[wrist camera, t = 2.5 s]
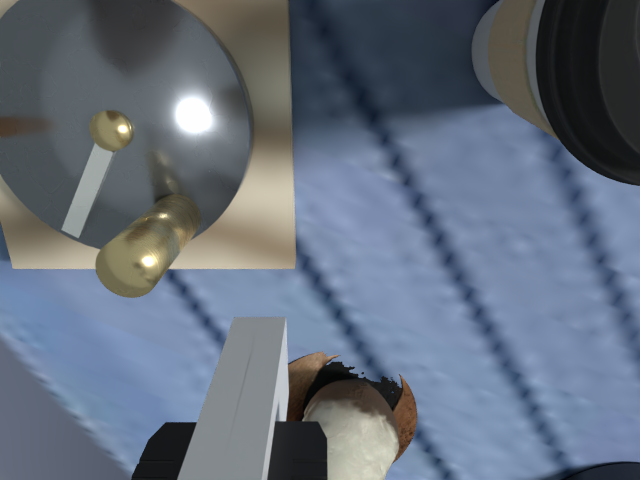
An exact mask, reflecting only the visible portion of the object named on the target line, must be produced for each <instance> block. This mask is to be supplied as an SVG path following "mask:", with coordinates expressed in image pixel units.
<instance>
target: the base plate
mask: <svg viewBox="0 0 640 480" xmlns="http://www.w3.org/2000/svg"><path fill="white" fill-rule="evenodd" d="M17 1H18V0H0V19H1V17H2V16H3V15H4V14H5V12H6V11H7V10H8V9H9V8H11V7H12V6H13V5H14V4H15V3H16V2H17ZM174 1H176V2H178V3H180V4H181V5H183V6H184V7H185V8H187V9H188V10H190V11H191V12H193V13H194V14H195V15H197V16H198V17H199V18H200V19H201V20H202V21H203V22H205V23H206V24H207V25H208V26H209V27H210V28H211V29H212V30H213V31H214V33H215V34H216V35H217V36H218V37H219V38H220V39H221V41H222V42H223V43H224V45H225V46H226V48H227V49H228V50H229V52H230V53H231V55H232V56H233V58H234V60H235V62H236V64H237V65H238V67H239V69H240V71H241V73H242V76H243V78H244V81H245V83H246V86H247V89H248V92H249V96H250V100H251V104H252V109H253V117H254V146H253V153H252V158H251V162H250V166H249V169H248V172H247V175H246V177H245V179H244V182H243V184H242V186H241V188H240V189H239V191H238V192H237V194H236V196H235V197H234V199H233V200H232V202H231V203H230V205H229V206H228V208H227V209H226V210H225V211H224V213H223V214H222V215H221V216H220V217H219V219H218V220H217V221H216V222H215V223H214V224H212V225H211V226H210V227H209V228H208V229H207V230H206V231H204V232H203V233H201V234H200V235H198V236H197V237H195V238H194V239H192V240H190V241H189V242H188V243H187V245H186V246H185V247H184V249H183V250H182V251H181V253H180V254H179V255H178V257H177V258H176V259H175V260H174V262H173V263H172V264H171V266H170V267H169V268H168V269H295V263H296V237H295V200H294V162H293V125H292V87H291V49H290V12H289V0H174ZM0 222H1V226H2V229H3V233H4V237H5V241H6V244H7V248H8V252H9V255H10V259H11V263H12V267H13V269H96V268H95V262H96V257H97V255H98V253H99V251H100V249H97V248H94V247H90V246H87V245H84V244H82V243H80V242H77V241H75V240H73V239H70V238H68V237H67V236H65V235H63V234H61V233H59V232H58V231H56V230H54V229H53V228H51V227H50V226H49V225H47V224H46V223H44V222H43V221H41V220H40V219H39V218H38V217H37V216H36V215H34V214H33V213H32V212H31V211H30V210H29V209H28V208H27V207H26V206H25V205H24V204H23V203H22V202H21V201H20V200H19V199H18V198H17V197H16V196H15V194H14V193H13V192H12V191H11V189H10V188H9V187H8V185H7V184H6V183H5V181H4V180H3V178H2V176H1V175H0Z"/></svg>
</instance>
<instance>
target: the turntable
mask: <svg viewBox="0 0 640 480" xmlns="http://www.w3.org/2000/svg"><path fill="white" fill-rule="evenodd" d="M253 146H254V117H253V109H252V104H251V100H250V96H249V92H248V89H247V86H246V83H245V81H244V78H243V76H242V73H241V71H240V69H239V67H238V65H237V64H236V62H235V60H234V58H233V56H232V55H231V53H230V52H229V50H228V49H227V48H226V46H225V45H224V43H223V42H222V41H221V39H220V38H219V37H218V36H217V35H216V34H215V33H214V31H213V30H212V29H211V28H210V27H209V26H208V25H207V24H206V23H205V22H203V21H202V20H201V19H200V18H199V17H198V16H197V15H195V14H194V13H193V12H191V11H190V10H188V9H187V8H185V7H184V6H183V5H181V4H180V3H178V2H176V1H174V0H18V1H17V2H16V3H15V4H14V5H13V6H12V7H11V8H9V9H8V10H7V11H6V12H5V14H4V15H3V16H2V17H1V19H0V175H1V176H2V178H3V180H4V181H5V183H6V184H7V185H8V187H9V188H10V189H11V191H12V192H13V193H14V194H15V196H16V197H17V198H18V199H19V200H20V201H21V202H22V203H23V204H24V205H25V206H26V207H27V208H28V209H29V210H30V211H31V212H32V213H33V214H34V215H36V216H37V217H38V218H39V219H40V220H41V221H43V222H44V223H46V224H47V225H49V226H50V227H51V228H53V229H54V230H56V231H58V232H59V233H61V234H63V235H65V236H67V237H68V238H70V239H73V240H75V241H77V242H80V243H82V244H84V245H87V246H90V247H94V248H97V249H100V251H99V253H98V255H97V257H96V262H95V268H96V273H97V275H98V278H99V279H100V281H101V282H102V284H103V285H104V286H105V287H106V288H107V289H108V290H110V291H111V292H113V293H115V294H117V295H119V296H123V297H129V298H135V297H140V296H143V295H145V294H147V293H149V292H150V291H151V290H152V289H153V288H154V287H155V285H156V284H157V283H158V281H159V280H160V279H161V278H162V276H163V275H164V274H165V272H166V271H167V270H168V268H169V267H170V266H171V264H172V263H173V262H174V260H175V259H176V258H177V257H178V255H179V254H180V253H181V251H182V250H183V249H184V247H185V246H186V245H187V243H188V242H189V241H190V240H192V239H194V238H195V237H197V236H198V235H200V234H201V233H203V232H204V231H206V230H207V229H208V228H209V227H210V226H211V225H212V224H214V223H215V222H216V221H217V220H218V219H219V217H220V216H221V215H222V214H223V213H224V211H225V210H226V209H227V208H228V206H229V205H230V203H231V202H232V200H233V199H234V197H235V196H236V194H237V192H238V191H239V189H240V188H241V186H242V184H243V182H244V179H245V177H246V175H247V172H248V169H249V166H250V162H251V158H252V153H253Z"/></svg>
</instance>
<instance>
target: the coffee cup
mask: <svg viewBox="0 0 640 480" xmlns="http://www.w3.org/2000/svg"><path fill="white" fill-rule="evenodd" d="M471 51H472V63H473V68H474V71H475V74H476V76H477V79H478V80H479V82H480V84H481V85H482V87H483V88H484V89H485V90H486V91H487V92H488V93H489V94H490V95H491V96H493V97H494V98H496V99H498V100H499V101H501V102H503V103H504V104H506V105H507V106H508V107H509V108H510V109H511V110H512V111H513V113H515V114H517V115H518V116H520V117H522V118H523V119H525V120H527V121H528V122H530V123H532V124H533V125H535V126H537V127H538V128H540V129H542V130H543V131H545V132H546V133H548V134H550V135H551V136H553V137H555V138H556V139H558V140H560V141H561V143H562V144H563V145H564V146H565V147H566V149H567V150H568V151H569V152H570V153H571V154H572V155H573V156H574V157H575V158H576V159H578V160H579V161H580V162H581V163H583V164H584V165H585V166H587V167H588V168H590V169H592V170H593V171H595V172H597V173H598V174H601V175H603V176H605V177H607V178H610V179H613V180H616V181H619V182H622V183H626V184H631V185H637V186H640V0H499V1H498V2H497V3H496V4H494V5H493V6H492V7H491V8H490V9H489V10H488V11H487V12H486V13H485V14H484V15H483V17H482V18H481V20H480V22H479V23H478V25H477V27H476V30H475V33H474V35H473V40H472V47H471Z"/></svg>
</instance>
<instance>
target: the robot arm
mask: <svg viewBox="0 0 640 480" xmlns="http://www.w3.org/2000/svg"><path fill="white" fill-rule="evenodd" d="M288 398H289V383H288V356H287V330H286V317H234V319H233V322H232V324H231V327H230V330H229V333H228V336H227V339H226V342H225V344H224V347H223V350H222V353H221V356H220V359H219V362H218V364H217V367H216V370H215V373H214V376H213V379H212V382H211V384H210V387H209V390H208V393H207V396H206V399H205V402H204V404H203V407H202V410H201V413H200V416H199V419H198V422H166V423H165V424H164V425H163V426H162V427H161V428H160V429H159V430H158V431H157V432H156V433H155V434H154V435H153V436H152V437H151V438H150V439H149V440H148V442H147V445H146V447H145V449H144V451H143V453H142V455H141V458H140V460H139V464H137V466H136V468H135V471H134V473H133V475H132V479H131V480H328V464H327V437H326V435H325V433H324V431H323V430H322V428H321V426H320V424H319V422H318V421H286V416H287V407H288ZM566 480H640V464H614V465H607V466H602V467H598V468H594V469H590V470H587V471H584V472H581V473H579V474H576V475H574V476H572V477H570V478H567V479H566Z"/></svg>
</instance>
